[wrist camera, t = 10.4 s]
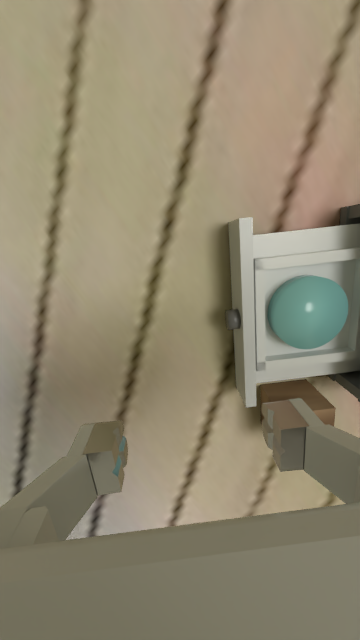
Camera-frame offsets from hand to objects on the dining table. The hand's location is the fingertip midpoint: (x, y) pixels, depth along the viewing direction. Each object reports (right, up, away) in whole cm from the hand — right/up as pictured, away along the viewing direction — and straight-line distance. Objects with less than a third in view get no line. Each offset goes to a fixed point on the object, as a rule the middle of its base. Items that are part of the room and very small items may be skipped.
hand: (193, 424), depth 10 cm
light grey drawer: (+12, +6, +15) cm, 20 cm away
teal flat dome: (+11, +5, +13) cm, 17 cm away
